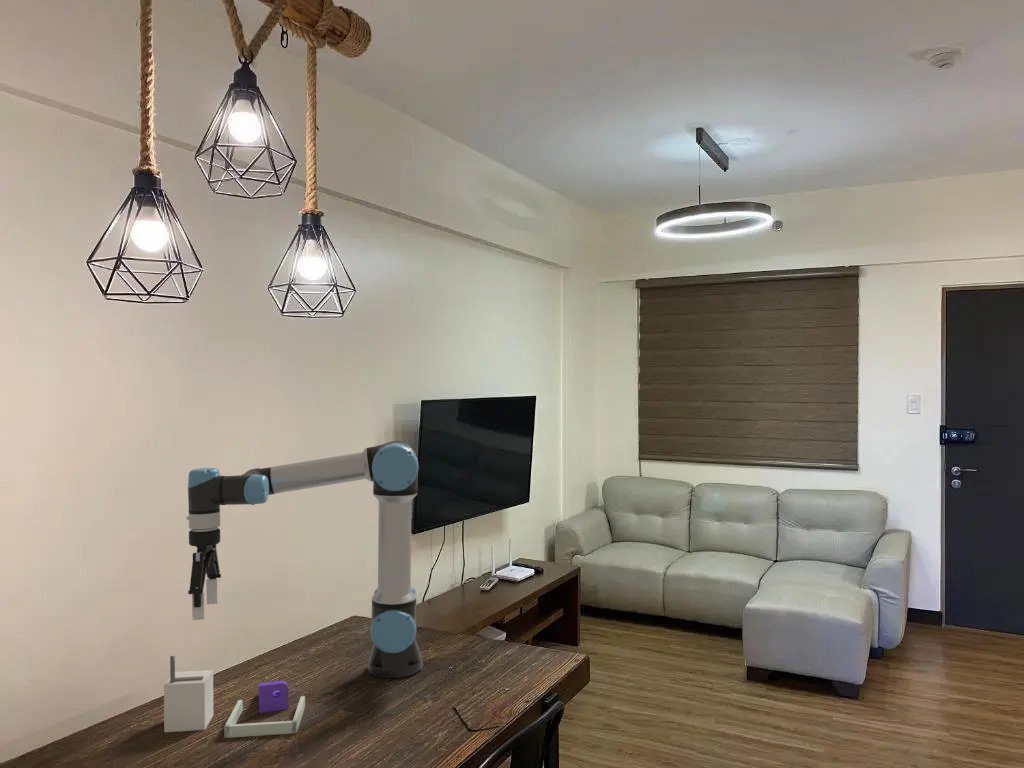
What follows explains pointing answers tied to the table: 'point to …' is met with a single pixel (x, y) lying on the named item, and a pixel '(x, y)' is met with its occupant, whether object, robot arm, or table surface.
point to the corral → (262, 724)
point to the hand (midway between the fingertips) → (205, 611)
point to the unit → (188, 700)
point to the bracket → (273, 696)
